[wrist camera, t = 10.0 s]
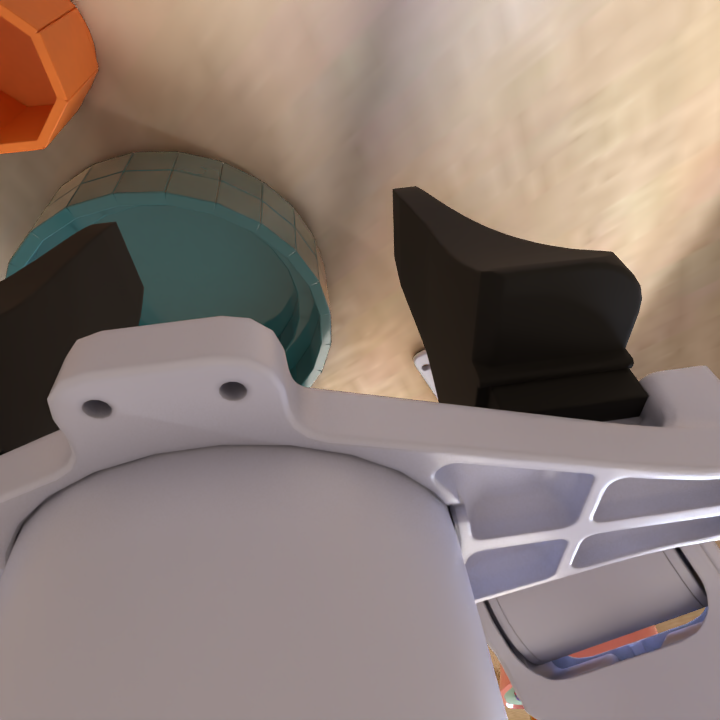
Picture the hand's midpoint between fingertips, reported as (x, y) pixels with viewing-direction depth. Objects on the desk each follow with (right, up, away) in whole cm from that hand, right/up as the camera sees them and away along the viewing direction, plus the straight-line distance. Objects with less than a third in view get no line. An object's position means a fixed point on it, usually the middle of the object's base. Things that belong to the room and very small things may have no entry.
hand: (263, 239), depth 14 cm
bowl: (-6, +1, +11) cm, 13 cm away
